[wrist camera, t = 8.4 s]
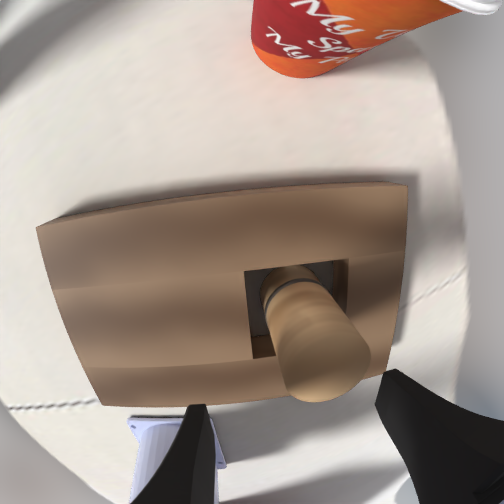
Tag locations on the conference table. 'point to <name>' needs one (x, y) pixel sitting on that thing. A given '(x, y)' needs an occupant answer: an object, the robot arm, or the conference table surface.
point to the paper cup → (340, 28)
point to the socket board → (216, 285)
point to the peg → (312, 336)
